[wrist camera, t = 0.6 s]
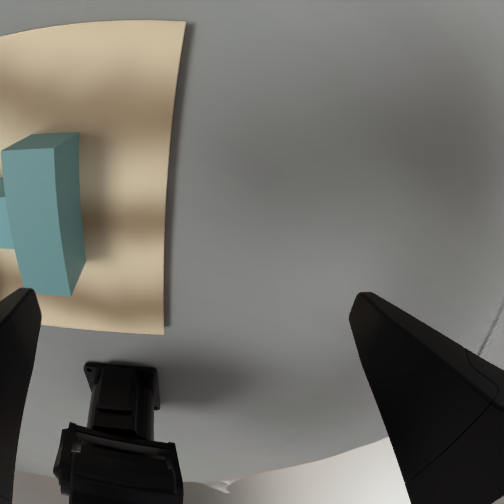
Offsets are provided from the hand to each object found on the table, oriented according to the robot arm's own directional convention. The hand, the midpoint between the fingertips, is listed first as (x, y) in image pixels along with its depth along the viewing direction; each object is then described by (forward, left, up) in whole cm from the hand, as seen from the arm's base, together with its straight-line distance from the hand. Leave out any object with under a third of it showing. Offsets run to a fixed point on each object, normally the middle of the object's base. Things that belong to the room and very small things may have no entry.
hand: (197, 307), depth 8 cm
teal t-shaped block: (-2, +13, -10) cm, 17 cm away
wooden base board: (-2, +14, -11) cm, 18 cm away
